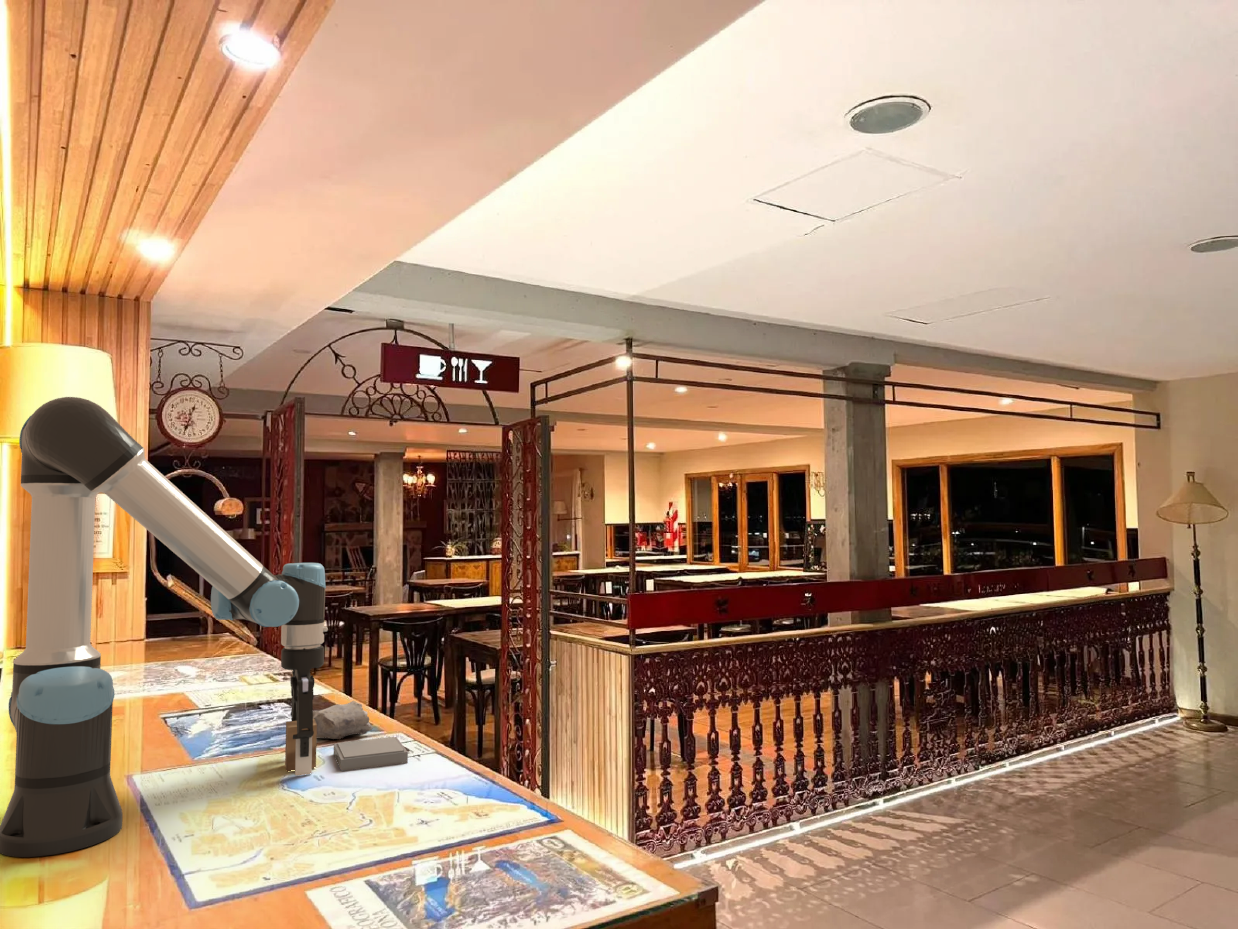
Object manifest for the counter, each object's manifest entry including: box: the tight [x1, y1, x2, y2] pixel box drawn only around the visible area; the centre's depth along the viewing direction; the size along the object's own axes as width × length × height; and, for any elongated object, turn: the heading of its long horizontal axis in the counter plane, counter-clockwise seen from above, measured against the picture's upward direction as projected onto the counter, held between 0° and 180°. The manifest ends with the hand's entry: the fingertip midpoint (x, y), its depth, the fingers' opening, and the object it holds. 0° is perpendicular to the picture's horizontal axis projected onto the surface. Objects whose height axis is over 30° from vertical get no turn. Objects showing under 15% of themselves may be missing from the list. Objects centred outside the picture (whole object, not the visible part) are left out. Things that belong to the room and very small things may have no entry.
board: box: [333, 736, 409, 771], centre depth 161 cm, size 12×12×2 cm
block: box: [284, 719, 318, 773], centre depth 156 cm, size 5×5×8 cm
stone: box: [313, 700, 374, 740], centre depth 177 cm, size 8×12×7 cm, turn 125°
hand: (300, 765), depth 156 cm, fingers open, 11 cm apart
